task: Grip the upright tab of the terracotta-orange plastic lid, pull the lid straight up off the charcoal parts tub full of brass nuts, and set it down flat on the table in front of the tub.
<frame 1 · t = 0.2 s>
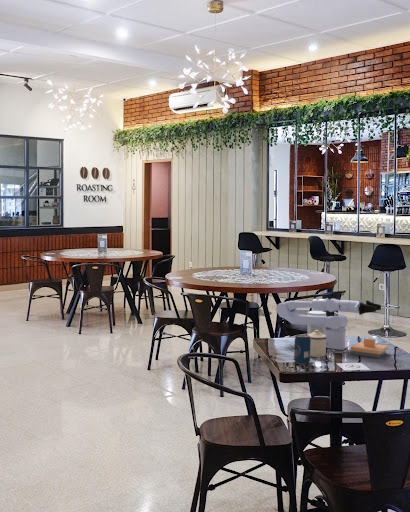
hand: (378, 308, 299), 21 cm above the table, tool horizontal, fingers open, 7 cm apart
lid: (369, 347, 299), point 3 cm above the table, touching parts tub
parts tub: (369, 354, 299), on the table
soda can: (302, 363, 280), on the table
teacup with lid: (312, 355, 296), on the table
supplement tub: (316, 341, 328), on the table
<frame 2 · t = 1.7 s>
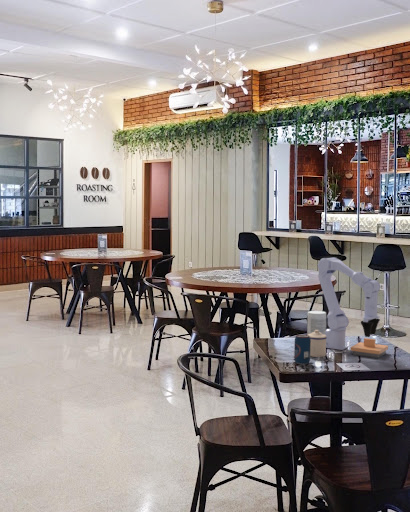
hand: (369, 335, 298), 9 cm above the table, tool pointing down, fingers open, 7 cm apart
nothing on the table moved.
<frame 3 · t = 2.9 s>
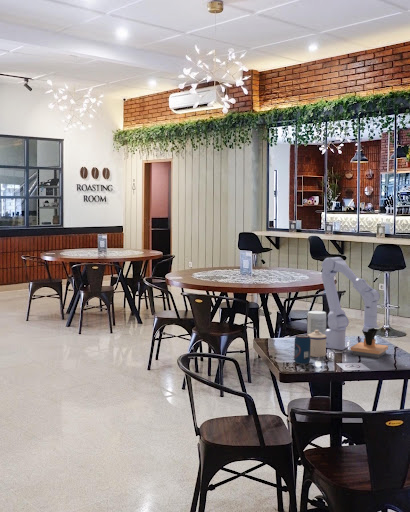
hand: (369, 344, 298), 4 cm above the table, tool pointing down, fingers closed on lid
lid: (369, 347, 299), point 3 cm above the table, touching gripper, parts tub
everything else where it was.
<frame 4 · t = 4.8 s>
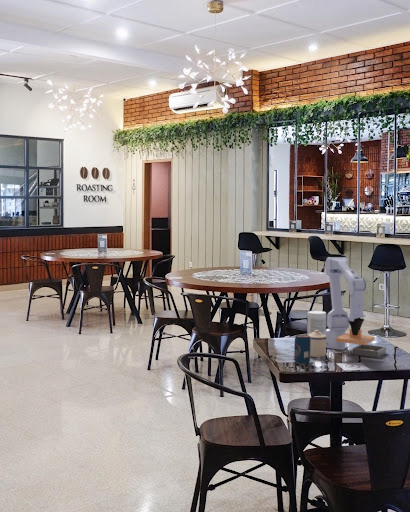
hand: (355, 334, 290), 10 cm above the table, tool pointing down, fingers closed on lid
lid: (355, 338, 291), point 9 cm above the table, touching gripper
everything else where it was.
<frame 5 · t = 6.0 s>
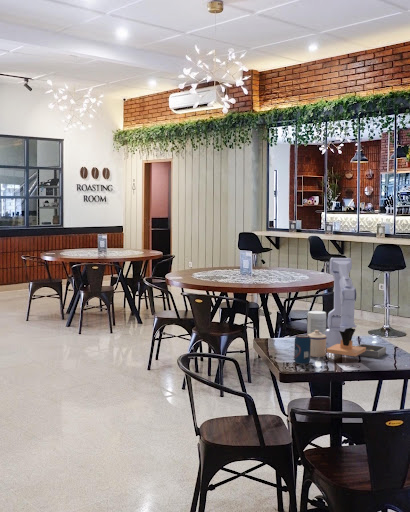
hand: (346, 345, 286), 7 cm above the table, tool pointing down, fingers closed on lid
lid: (346, 349, 287), point 5 cm above the table, touching gripper
everything else where it was.
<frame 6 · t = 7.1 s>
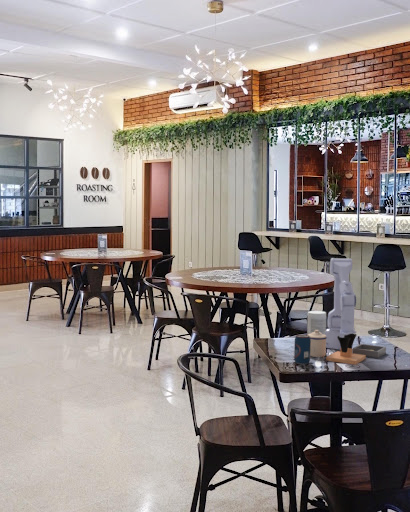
hand: (346, 351, 287), 4 cm above the table, tool pointing down, fingers open, 5 cm apart
lid: (346, 357, 287), point 1 cm above the table
everything else where it was.
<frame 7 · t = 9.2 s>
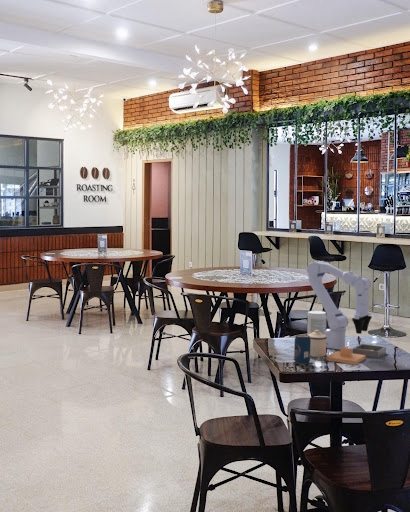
hand: (361, 332, 302), 9 cm above the table, tool pointing down, fingers open, 7 cm apart
nothing on the table moved.
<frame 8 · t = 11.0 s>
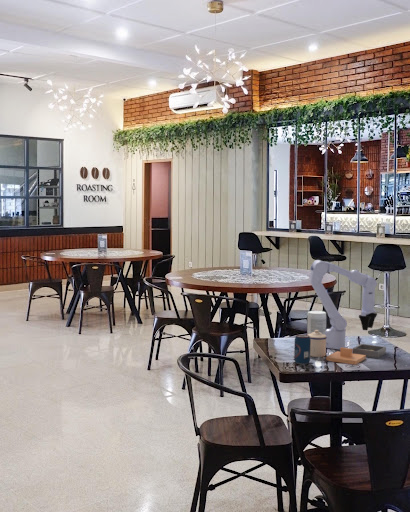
hand: (367, 328, 311), 9 cm above the table, tool pointing down, fingers open, 7 cm apart
nothing on the table moved.
at the end: lid touching table; lid inside the target area (0.1 cm from its centre), point 1.0 cm above the table; lid tilted 0° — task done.
